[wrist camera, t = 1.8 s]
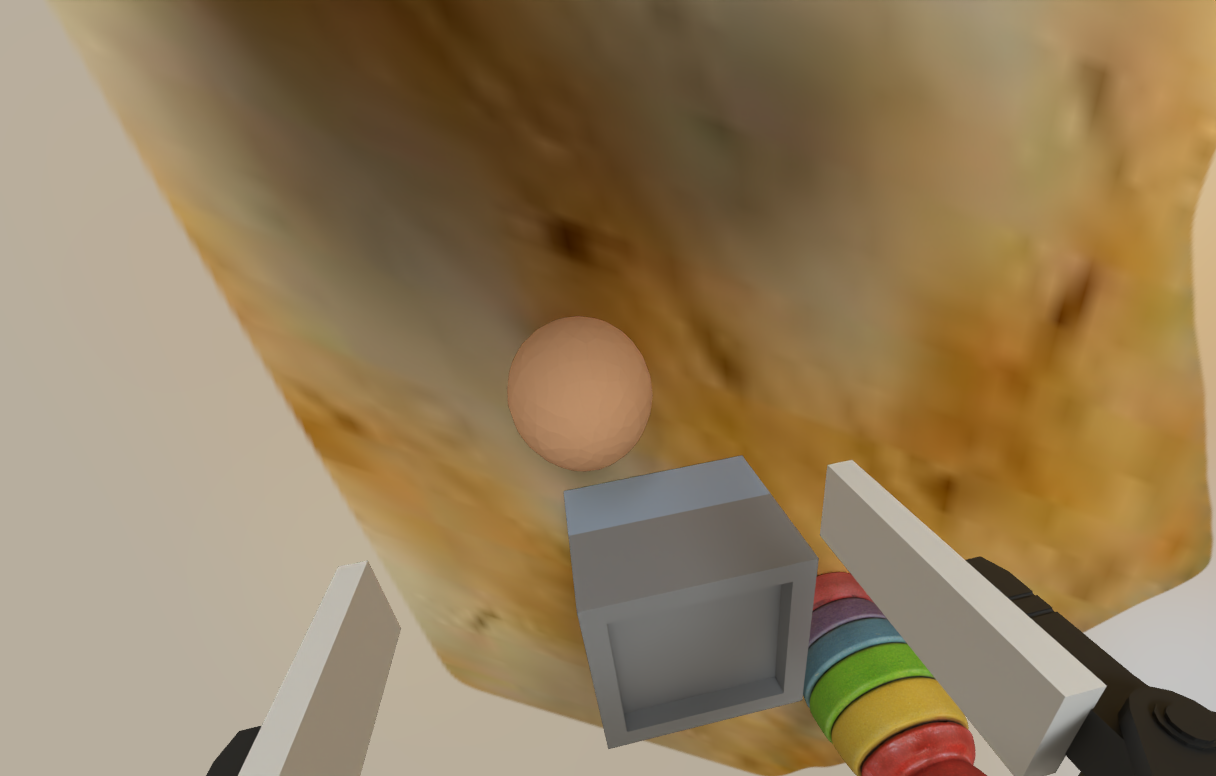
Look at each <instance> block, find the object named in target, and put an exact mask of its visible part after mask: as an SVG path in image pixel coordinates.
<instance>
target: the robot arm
mask: <svg viewBox="0 0 1216 776" xmlns="http://www.w3.org/2000/svg"><path fill="white" fill-rule="evenodd" d="M820 536H821V537H822V538H823V540H824V541H825V542H826V543H827V545H828V546H829V547H830V548H831V550H832V551H833V552H834V553H835V555H836V556H837V557H838V558H839V560H840V561H841V562H842V563H843V564H844V566H845V567H846V568H847V569H848V571H849V572H850V573H851V574H852V576H853V577H854V578H855V579H856V581H857V582H858V583H859V584H860V586H861V587H862V588H863V589H864V591H865V592H866V593H867V594H868V596H869V597H870V598H871V599H872V600H873V602H874V603H875V604H876V605H877V607H878V608H879V609H880V610H881V612H882V613H883V614H884V615H885V617H886V618H887V619H888V620H889V622H890V623H891V624H892V625H893V627H894V628H895V629H896V630H897V632H898V633H899V634H900V635H901V636H902V638H903V639H904V640H905V641H906V643H907V644H908V645H909V646H910V648H911V649H912V650H913V651H914V653H915V654H916V655H917V656H918V658H919V659H920V660H921V661H922V663H923V664H924V665H925V666H926V668H927V669H928V670H929V671H930V672H931V674H932V675H933V676H934V677H935V679H936V680H937V681H938V682H939V684H940V685H941V686H942V687H943V689H944V690H945V691H946V692H947V694H948V695H949V696H950V697H951V699H952V700H953V701H954V702H955V704H956V705H957V706H958V707H959V708H960V710H961V711H962V712H963V713H964V715H965V716H966V717H967V718H968V720H969V721H970V722H971V723H972V725H973V726H974V727H975V728H976V730H977V731H978V732H979V733H980V735H981V736H982V737H983V738H984V740H985V741H986V742H987V743H988V744H989V746H990V747H991V748H992V749H993V751H994V752H995V753H996V754H997V756H998V757H999V758H1000V759H1001V761H1002V762H1003V763H1004V764H1005V766H1006V767H1007V768H1008V769H1009V771H1010V772H1011V773H1012V774H1013V775H1014V776H1046V775H1049V774H1053V773H1056V771H1057V769H1058V768H1059V766H1060V764H1061V763H1062V761H1063V759H1064V757H1065V756H1067V757H1068V758H1069V759H1070V760H1071V761H1072V762H1073V763H1074V764H1075V766H1076V767H1077V768H1078V769H1079V770H1080V771H1081V772H1080V774H1079V775H1078V776H1216V712H1212V711H1210V710H1208V709H1207V708H1205V707H1203V706H1202V705H1200V704H1198V703H1197V702H1195V701H1194V700H1191V699H1189V698H1187V697H1184V696H1182V695H1180V694H1177V693H1175V692H1173V691H1169V690H1164V689H1159V688H1155V687H1150V686H1148V685H1146V684H1145V683H1144V682H1142V681H1141V680H1140V679H1138V678H1137V677H1135V676H1134V675H1133V674H1132V673H1130V672H1129V671H1128V670H1127V669H1126V668H1124V667H1123V666H1122V665H1121V664H1119V663H1118V662H1117V661H1116V660H1115V659H1113V658H1112V657H1111V656H1110V655H1109V654H1107V653H1106V652H1105V651H1104V650H1103V649H1101V648H1100V647H1099V646H1098V645H1097V644H1095V643H1094V642H1093V641H1092V640H1091V639H1089V638H1088V637H1087V636H1086V635H1085V634H1083V633H1082V632H1081V631H1080V630H1079V629H1077V628H1076V627H1075V626H1074V625H1073V624H1071V623H1070V622H1069V621H1068V620H1066V619H1065V618H1064V617H1063V616H1062V615H1060V614H1059V613H1058V612H1054V611H1053V610H1052V607H1051V606H1050V605H1048V604H1047V603H1046V602H1045V601H1044V600H1042V599H1041V598H1040V597H1039V596H1038V595H1036V596H1035V595H1034V594H1033V593H1032V590H1030V589H1029V588H1028V587H1027V586H1026V585H1024V584H1023V583H1022V582H1021V581H1019V580H1018V579H1017V578H1016V577H1015V576H1013V575H1012V574H1011V573H1010V572H1009V571H1007V570H1005V569H1003V568H1001V567H999V566H997V565H996V564H994V563H992V562H990V561H988V560H986V559H984V558H982V557H976V558H972V559H967V560H964V559H963V558H962V557H961V556H960V555H959V554H958V553H956V552H955V551H954V550H953V549H952V548H951V547H950V546H949V545H947V544H946V543H945V542H944V541H943V540H942V539H941V538H939V537H938V536H937V535H936V534H935V533H934V532H933V531H932V530H930V529H929V528H928V527H927V526H926V525H925V524H924V523H923V522H921V521H920V520H919V519H918V518H917V517H916V516H915V515H914V514H912V513H911V512H910V511H909V510H908V509H907V508H906V507H905V506H903V505H902V504H901V503H900V502H899V501H898V500H897V499H895V498H894V497H893V496H892V495H891V494H890V493H889V492H888V491H886V490H885V489H884V488H883V487H882V486H881V485H880V484H879V483H877V482H876V481H875V480H874V479H873V478H872V477H871V476H870V475H868V474H867V473H866V472H865V471H864V470H863V469H862V468H861V467H859V466H858V465H857V464H856V463H855V462H854V461H853V460H849V461H844V462H839V463H834V464H830V465H827V474H826V484H825V493H824V502H823V512H822V521H821V531H820ZM400 630H401V627H400V625H399V623H398V621H397V619H396V617H395V615H394V613H393V611H392V609H391V607H390V605H389V603H388V601H387V599H386V597H385V595H384V593H383V591H382V589H381V586H380V585H379V582H378V580H377V578H376V576H375V574H374V572H373V570H372V568H371V566H370V564H369V562H368V561H363V562H358V563H353V564H348V565H343V566H339V567H338V568H337V570H336V572H335V574H334V577H333V579H332V581H331V583H330V585H329V587H328V589H327V591H326V593H325V595H324V597H323V599H322V602H321V604H320V606H319V608H318V610H317V612H316V614H315V616H314V618H313V620H312V622H311V624H310V626H309V629H308V631H307V633H306V635H305V637H304V639H303V641H302V643H301V645H300V647H299V649H298V651H297V654H296V656H295V658H294V660H293V662H292V664H291V666H290V668H289V670H288V673H287V674H286V676H285V679H284V681H283V683H282V685H281V687H280V689H279V691H278V693H277V695H276V697H275V699H274V701H273V704H272V706H271V708H270V710H269V712H268V714H267V716H266V718H265V720H264V722H263V724H262V726H258V727H254V728H250V729H246V730H242V731H239V732H238V733H237V734H236V736H235V737H234V738H233V739H232V740H231V742H230V743H229V744H228V745H227V747H226V748H225V749H224V750H223V751H222V752H221V754H220V755H219V756H218V757H217V759H216V760H215V761H214V762H213V764H212V766H211V768H210V770H209V771H208V773H207V775H206V776H360V774H361V770H362V767H363V763H364V760H365V756H366V752H367V749H368V745H369V742H370V738H371V734H372V731H373V727H374V724H375V720H376V717H377V713H378V709H379V706H380V702H381V699H382V695H383V691H384V688H385V684H386V681H387V677H388V673H389V670H390V666H391V662H392V659H393V655H394V652H395V647H396V644H397V641H398V637H399V634H400Z"/></svg>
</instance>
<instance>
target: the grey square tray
mask: <svg viewBox="0 0 1216 776" xmlns="http://www.w3.org/2000/svg"><path fill="white" fill-rule="evenodd" d="M564 499H565V508H566V517H567V527H568V536H569V545H570V554H571V563H572V572H573V581H574V590H575V599H576V608H577V615H578V619H579V623H580V628H581V632H582V636H583V641H584V645H585V649H586V654H587V658H588V663H589V667H590V671H591V676H592V680H593V684H594V689H595V693H596V697H597V702H598V706H599V710H600V715H601V719H602V723H603V728H604V732H605V736H606V741H607V745H608V749H610V748H615V747H618V746H622V745H627V744H630V743H635V742H638V741H642V740H646V739H650V738H654V737H658V736H662V735H666V734H670V733H674V732H678V731H682V730H686V729H690V728H694V727H698V726H702V725H706V724H710V723H714V722H718V721H722V720H726V719H730V718H734V717H738V716H742V715H746V714H750V713H754V712H758V711H762V710H766V709H770V708H774V707H778V706H782V705H786V704H790V703H794V702H798V701H802V697H803V688H804V680H805V671H806V663H807V654H808V646H809V637H810V628H811V620H812V611H813V603H814V594H815V586H816V577H817V568H818V560H819V558H818V557H817V556H816V554H815V553H814V552H813V550H812V549H811V547H810V546H809V545H808V543H807V542H806V541H805V539H804V538H803V537H802V535H801V534H800V533H799V531H798V530H797V529H796V527H795V526H794V525H793V523H792V522H791V521H790V519H789V518H788V517H787V515H786V514H785V512H784V511H783V510H782V508H781V507H780V506H779V504H778V503H777V502H776V500H775V499H774V498H773V496H772V495H771V494H770V492H769V491H768V490H767V488H766V487H765V486H764V484H763V483H762V482H761V480H760V479H759V477H758V476H757V475H756V473H755V472H754V471H753V469H752V468H751V467H750V465H749V464H748V463H747V461H746V460H745V459H744V457H743V456H737V457H732V458H727V459H722V460H717V461H712V462H707V463H702V464H697V465H692V466H687V467H682V468H677V469H672V470H667V471H662V472H657V473H652V474H647V475H642V476H637V477H632V478H627V479H622V480H617V481H612V482H607V483H602V484H597V485H592V486H587V487H582V488H577V489H572V490H567V491H564Z"/></svg>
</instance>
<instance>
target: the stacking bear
mask: <svg viewBox="0 0 1216 776" xmlns="http://www.w3.org/2000/svg"><path fill="white" fill-rule="evenodd" d="M803 695H804V698H805V701H806V703H807V705H808V707H809V708H810V711H811V713H812V715H813V717H814V719H815V720H816V722H817V724H818V725H819V727H820V728H821V730H822V731H823V733H824V734H825V736H826V737H827V739H828V740H829V741H830V742H831V743H832V744H833V745H834V747H835V749H836V750H837V751H838V753H839V754H840V756H841V757H842V759H843V760H844V761H845V762H846V764H847V765H848V766H849V767H850V769H851V770H852V771H853V772H854V773H855V774H856V775H857V776H987V775H986V774H984V773H983V772H982V771H980V770H979V769H978V768H976V767H975V766H973V763H974V760H975V744H974V740H973V736H972V734H971V732H970V731H969V730H968V722H967V720H966V717H965V715H964V713H963V712H962V711H961V710H960V708H959V707H958V706H957V705H956V704H955V702H954V701H953V700H952V699H951V697H950V696H949V695H948V694H947V692H946V691H945V690H944V689H943V687H942V686H941V685H940V684H939V682H938V681H937V680H936V679H935V677H934V676H933V675H932V674H931V672H930V671H929V670H928V669H927V668H926V666H925V665H924V664H923V663H922V661H921V660H920V659H919V658H918V656H917V655H916V654H915V653H914V651H913V650H912V649H911V648H910V646H909V645H908V644H907V643H906V641H905V640H904V639H903V638H902V636H901V635H900V634H899V633H898V632H897V630H896V629H895V628H894V627H893V625H892V624H891V623H890V622H889V620H888V619H887V618H886V617H885V615H884V614H883V613H882V612H881V610H880V609H879V608H878V607H877V605H876V604H875V603H874V602H873V600H872V599H871V598H870V597H869V596H868V594H867V593H866V592H865V591H864V589H863V588H862V587H861V586H860V584H859V583H858V582H857V581H856V579H855V578H854V577H853V576H852V574H850V573H845V572H835V573H828V574H823V575H819V576H817V577H816V586H815V594H814V603H813V611H812V620H811V628H810V637H809V646H808V654H807V663H806V671H805V680H804V688H803Z"/></svg>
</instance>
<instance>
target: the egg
mask: <svg viewBox="0 0 1216 776" xmlns="http://www.w3.org/2000/svg"><path fill="white" fill-rule="evenodd" d="M507 392H508V406H509V409H510V412H511V415H512V418H513V421H514V423H515V426H516V428H517V430H518V432H519V434H520V435H521V437H522V438H523V439H524V441H525V442H526V443H527V444H528V445H529V447H530V448H532V449H533V450H534V451H535V452H536V453H538V454H539V455H540V456H542V457H543V458H544V459H545V460H547V461H548V462H550V463H553V464H555V465H557V466H560V467H562V468H566V469H569V470H573V471H591V470H598V469H602V468H604V467H607V466H610V465H612V464H614V463H615V462H616V461H618V460H619V459H621V458H622V457H624V456H625V455H626V454H627V453H628V452H629V451H630V450H631V449H632V448H633V447H634V446H635V444H636V443H637V442H638V440H639V439H640V437H641V435H642V433H643V431H644V429H645V427H646V424H647V421H648V419H649V416H650V411H651V404H652V396H653V395H652V386H651V377H650V374H649V371H648V369H647V366H646V363H645V361H644V358H643V356H642V354H641V353H640V351H639V350H638V349H637V347H636V346H635V344H634V343H633V341H632V340H631V339H630V338H629V337H628V336H626V335H625V334H624V333H623V332H622V331H621V330H619V329H618V328H616V327H614V326H613V325H611V324H609V323H607V322H605V321H602V320H599V319H596V318H590V317H583V316H574V317H566V318H561V319H557V320H554V321H551V322H549V323H548V324H546V325H544V326H542V327H540V328H539V329H537V330H536V331H535V332H534V333H533V334H532V335H531V336H530V337H529V338H528V339H527V340H526V341H525V342H523V343H522V345H521V347H520V349H519V350H518V352H517V354H516V355H515V357H514V359H513V362H512V365H511V368H510V371H509V378H508V387H507Z"/></svg>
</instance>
